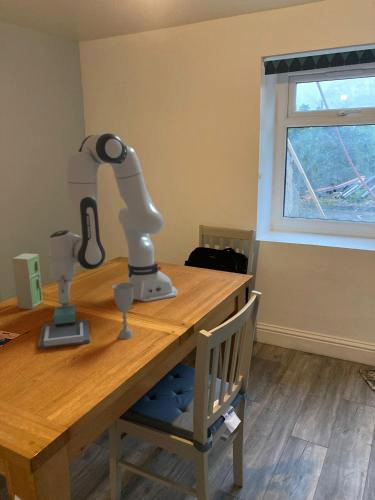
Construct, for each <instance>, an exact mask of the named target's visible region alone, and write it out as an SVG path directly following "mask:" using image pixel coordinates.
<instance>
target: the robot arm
mask: <svg viewBox="0 0 375 500" xmlns="http://www.w3.org/2000/svg"><path fill="white" fill-rule="evenodd" d="M137 155H138V154H137V153H136V151H135V149H134V148H133V147H132V146H131V147H130V146H128V145H127V146H126V145H125V144H124V142H123V141H122V139H121V138H120V137H119V136H118V135H116V134H113V133H102V132H99V133H96V134H91V135H88V136H87V137H86V138H84V139H83V140H82V143H81V145H80V148H79V149H78V151H76V152H73V153H72V154H70V155H69V157H68V161H67V166H66V167H67V168H66V169H67V170H66V187H67V188H66V189H67V194H68V195H67V196H68V199H69V201H70V203H71V204H72V205H73V207H74V208H75V210H76V212H77V214H78V217H79V220H80V232H81V235H77V234H75V233H73V232H72V231H70V230H66V229H63V230H59V231H55V232H54V233H52V234H51V235H50V236H49V240H48V255H49V258H50V265H49V267H50V268H49V269H50V277H51V280H53V281H54V282H55V283H56V284H57V297H58V298H57V299H58V304H59V305H61V306H66V305H69V303H70V296H71V295H70V292H71V291H70V290H71V283H72V281H73V279H74V278H75V277H76V268H75V266H76V265H75V263H76V262H77V263H78V264H80V266H81V267H82V268H84V269H86V270H95V269H97V268H99V267H101V266H102V265H103V263H104V262H105V258H106V251H105V249H104V246H103V245H102V244H103V243H102V242H101V238H100V237H101V235H100V226H99V211H98V170H99V167H100V166H101V165H104V164H109V166H111V168H112V170H113V173H114V178H115V181H116V182H115V183H116V186H117V189H118V193H119V196H120V198H121V200H123V202H124V204H125V206H123V207H121V208H120V210H119V212H118V217H117V218H118V222H119V223H120V225H121V227H122V229H123V233H124V237H125V241H126V245H127V255H128V256H127V258H128V264H127V277H128V282H127V283H133V284H134V287H133V300H138V301H141V302H152V301H156V300H164V299H169V298H174V297H176V296H178V290H177V288H176V287H175V286H173V284H172V280H171V278H169V276H167V275H166V274H165V273H163V272H161V270H162V266H161V265H159V263H157V262H155V246H154V243H153V241H152V240H151V237H150V235H151V236H152V235H156V234H158V233H160V232H161V230H162V229H163V226H164V218H163V215H162V213H160V212H159V211H158V209H157V208H156V206H155V204H154V202H153V200H152V198H151V196H150V194H149V192H148V189H147V186H146V182H145V178H144V173H143V170H142V169H143V168H142V166H141V162H140V159H139V158H138V156H137Z"/></svg>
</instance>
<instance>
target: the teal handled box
mask: <svg viewBox="0 0 375 500" xmlns="http://www.w3.org/2000/svg"><path fill="white" fill-rule="evenodd" d="M76 313H77V312H76V306H75V305H74V304H68V305H66V306H62V305H57V306H55V308H54V312H53V316H52V317H53V322H54V324H55V326H56V327H58V326H59V324H61V323H70V322H71V325H74V324H75V320H76V319H77V318H76Z"/></svg>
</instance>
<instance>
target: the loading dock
mask: <svg viewBox="0 0 375 500" xmlns="http://www.w3.org/2000/svg"><path fill="white" fill-rule="evenodd" d="M90 343H91V342H90V327H89V318H82V319H81V318H80V319H75V324H74V325H71V322H70V323H61V324H59V326H58V327H56V326H55V324H54V321H53V322H47V323H45V322H44V323H42V326H41V329H40V333H39V340H38V342H37V349H38V350H41V349H42V350H43V349H44V350H45V349H49V348H50V349H51V348H52V349H53V348H58V347H66V346H74V345H82V344H90Z"/></svg>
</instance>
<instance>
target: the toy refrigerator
mask: <svg viewBox="0 0 375 500" xmlns="http://www.w3.org/2000/svg"><path fill="white" fill-rule="evenodd" d="M12 266H13V275H14V285H15V293H16V300H17V302H16V303H17V307H18V309H25V310H26V309H27V310H33V309H34V308H36V307H38V306H39V305H41V304H42V303H43V302H44V298H43V289H42V279H41V267H40V258H39V254H38V253H28V252H27V253H26V252H24V253H22V254H19V255H17V256H15V257H13V258H12Z"/></svg>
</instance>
